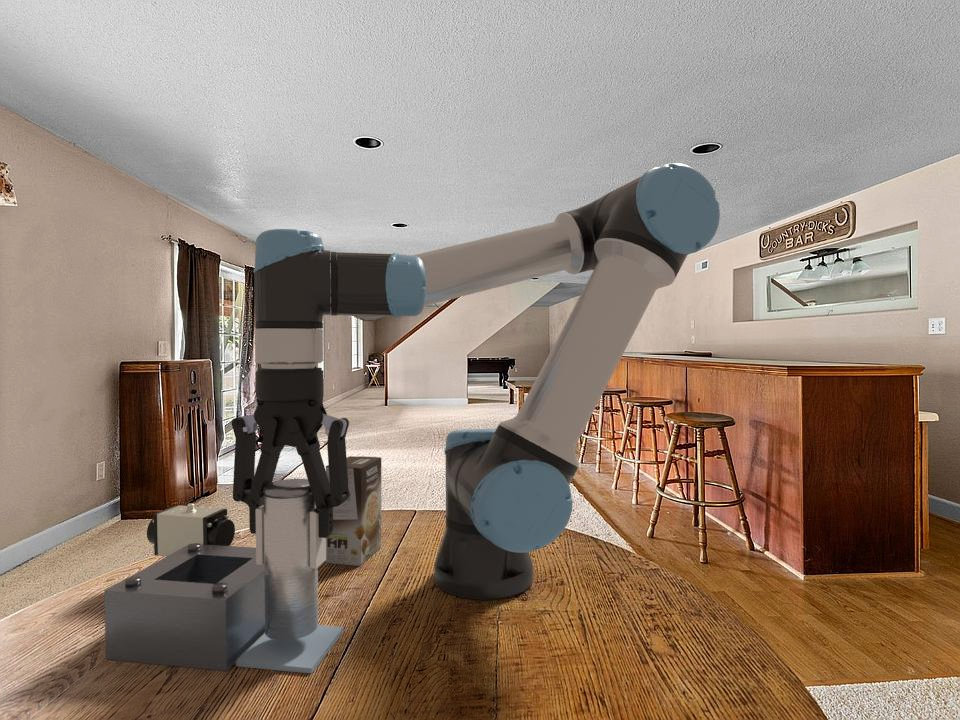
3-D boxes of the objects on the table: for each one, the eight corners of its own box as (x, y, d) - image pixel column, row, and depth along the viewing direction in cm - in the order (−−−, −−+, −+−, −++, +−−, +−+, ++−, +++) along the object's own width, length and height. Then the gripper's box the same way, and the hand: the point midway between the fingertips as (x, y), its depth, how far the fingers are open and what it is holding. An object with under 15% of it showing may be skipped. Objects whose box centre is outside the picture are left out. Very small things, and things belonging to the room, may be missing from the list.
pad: (343, 631, 71) (343, 627, 71) (311, 673, 62) (311, 668, 62) (276, 626, 72) (276, 621, 72) (235, 666, 64) (235, 661, 64)
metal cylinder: (326, 617, 70) (325, 479, 69) (304, 642, 64) (303, 492, 63) (280, 613, 71) (279, 477, 70) (254, 638, 65) (253, 490, 64)
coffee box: (361, 567, 91) (360, 468, 91) (324, 563, 93) (324, 466, 92) (382, 546, 100) (382, 456, 100) (348, 544, 102) (348, 454, 101)
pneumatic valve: (216, 593, 82) (215, 511, 81) (146, 586, 84) (144, 506, 84) (240, 577, 87) (239, 500, 87) (173, 571, 90) (172, 495, 89)
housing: (291, 607, 77) (291, 545, 77) (226, 671, 63) (225, 594, 62) (191, 599, 80) (190, 539, 79) (105, 659, 65) (104, 585, 65)
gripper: (378, 365, 68) (379, 555, 69) (233, 363, 71) (235, 545, 72) (355, 368, 61) (356, 580, 62) (194, 366, 64) (197, 569, 65)
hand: (291, 561), depth 67 cm, fingers closed on metal cylinder, 6 cm apart
